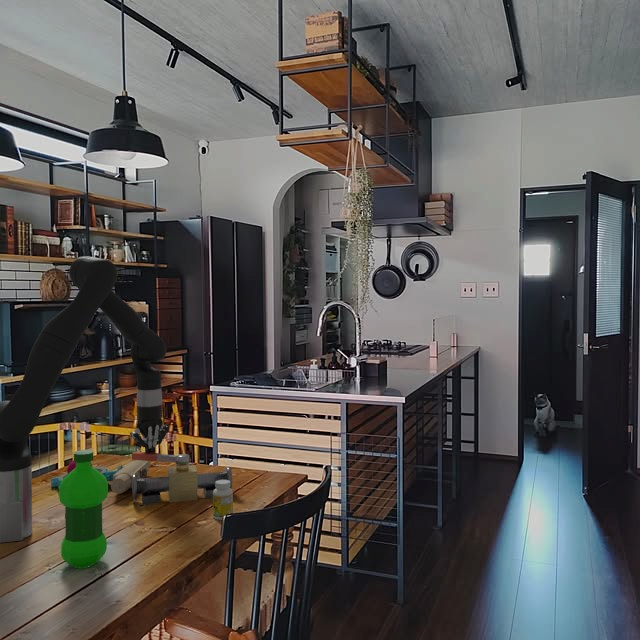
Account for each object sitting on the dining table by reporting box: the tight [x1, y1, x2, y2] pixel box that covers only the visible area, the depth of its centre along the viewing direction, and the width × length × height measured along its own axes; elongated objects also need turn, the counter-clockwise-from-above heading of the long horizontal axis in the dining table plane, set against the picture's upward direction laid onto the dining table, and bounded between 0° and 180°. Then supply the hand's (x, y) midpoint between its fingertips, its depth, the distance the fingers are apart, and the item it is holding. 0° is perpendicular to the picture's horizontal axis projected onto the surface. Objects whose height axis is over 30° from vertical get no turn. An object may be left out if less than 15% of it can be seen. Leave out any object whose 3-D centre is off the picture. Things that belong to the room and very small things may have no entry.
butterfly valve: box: [50, 460, 151, 494], centre depth 192 cm, size 27×7×30 cm
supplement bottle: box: [212, 480, 234, 521], centre depth 165 cm, size 5×5×10 cm
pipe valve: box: [131, 462, 233, 505], centre depth 181 cm, size 28×7×10 cm, turn 108°
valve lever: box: [131, 451, 190, 465], centre depth 182 cm, size 18×4×2 cm, turn 76°
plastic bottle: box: [58, 449, 109, 569], centre depth 136 cm, size 10×10×25 cm
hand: (150, 459), depth 187 cm, fingers closed
